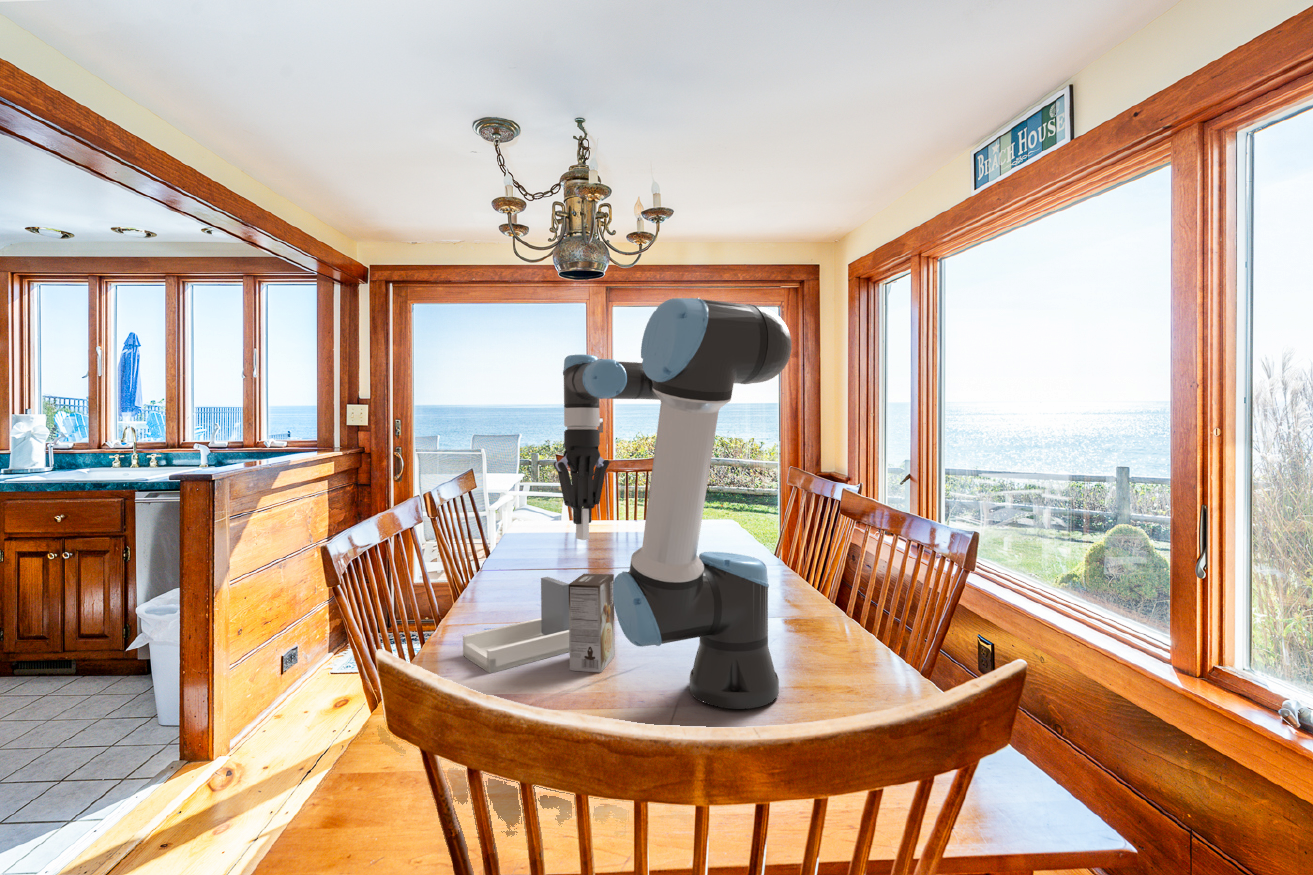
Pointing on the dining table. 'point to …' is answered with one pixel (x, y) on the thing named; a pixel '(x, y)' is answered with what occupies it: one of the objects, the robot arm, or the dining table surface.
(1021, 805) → the dining table surface
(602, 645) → the coffee box
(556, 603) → the block
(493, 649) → the white rectangular tray
